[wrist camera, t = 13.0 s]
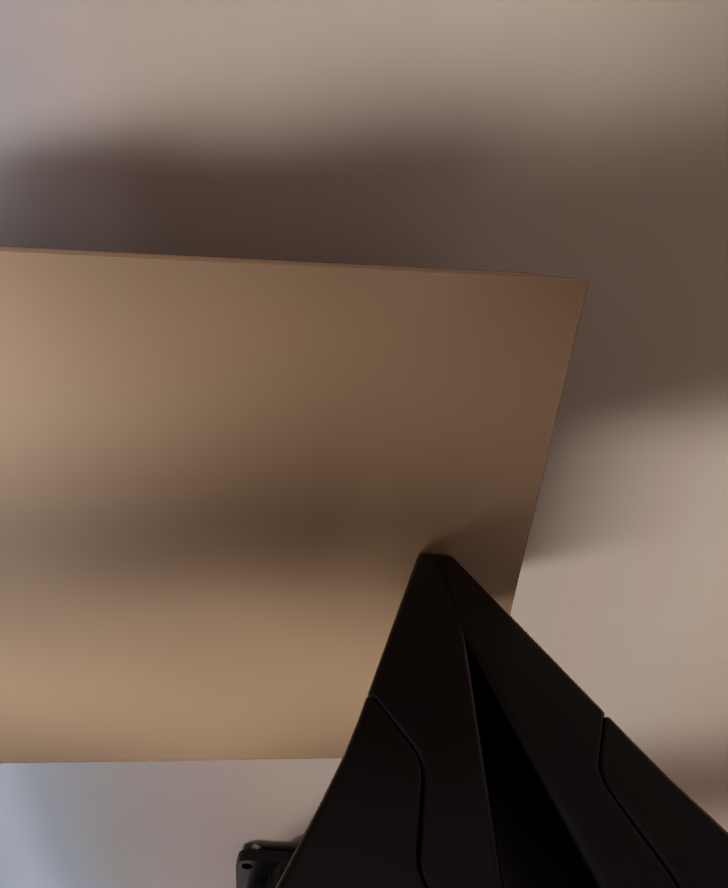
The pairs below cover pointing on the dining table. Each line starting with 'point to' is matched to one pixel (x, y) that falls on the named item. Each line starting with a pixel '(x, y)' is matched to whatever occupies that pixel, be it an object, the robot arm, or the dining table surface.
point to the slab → (249, 486)
